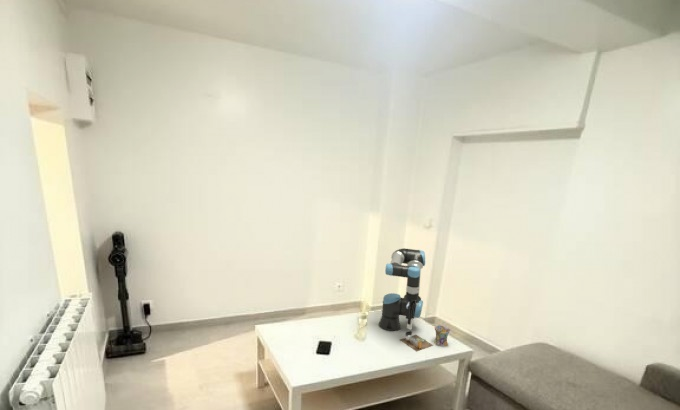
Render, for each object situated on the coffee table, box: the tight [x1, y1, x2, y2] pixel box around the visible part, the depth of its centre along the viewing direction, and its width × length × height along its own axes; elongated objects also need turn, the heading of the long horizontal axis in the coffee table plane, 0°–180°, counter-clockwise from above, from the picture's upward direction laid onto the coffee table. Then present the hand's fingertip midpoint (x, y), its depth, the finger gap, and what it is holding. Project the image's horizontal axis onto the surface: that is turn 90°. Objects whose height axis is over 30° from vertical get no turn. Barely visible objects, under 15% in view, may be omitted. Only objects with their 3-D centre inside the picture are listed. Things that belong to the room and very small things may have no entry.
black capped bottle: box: [404, 330, 422, 349], centre depth 198 cm, size 12×4×6 cm, turn 33°
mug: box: [433, 325, 451, 348], centre depth 202 cm, size 12×9×11 cm
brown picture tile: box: [399, 334, 434, 352], centre depth 200 cm, size 15×15×1 cm
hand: (409, 328), depth 200 cm, fingers closed
